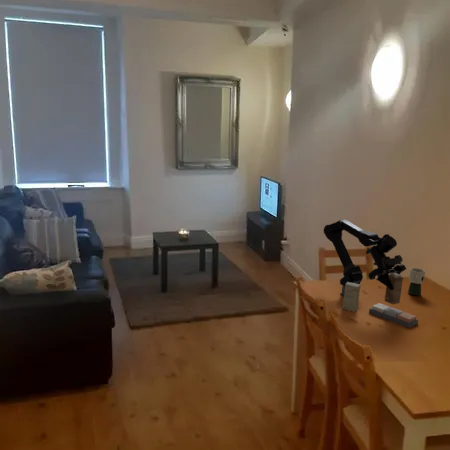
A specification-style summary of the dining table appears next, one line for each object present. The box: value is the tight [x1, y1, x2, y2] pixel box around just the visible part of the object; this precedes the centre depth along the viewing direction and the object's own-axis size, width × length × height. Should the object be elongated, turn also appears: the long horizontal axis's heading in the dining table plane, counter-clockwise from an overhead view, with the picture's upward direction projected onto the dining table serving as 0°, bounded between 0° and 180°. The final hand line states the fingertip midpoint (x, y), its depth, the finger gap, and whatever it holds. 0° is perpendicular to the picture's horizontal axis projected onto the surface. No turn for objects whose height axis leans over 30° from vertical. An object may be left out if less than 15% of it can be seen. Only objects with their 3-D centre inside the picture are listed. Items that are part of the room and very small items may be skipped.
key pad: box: [368, 302, 419, 329], centre depth 214 cm, size 20×7×4 cm, turn 41°
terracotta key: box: [397, 311, 417, 323], centre depth 210 cm, size 6×6×2 cm
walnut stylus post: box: [384, 273, 404, 305], centre depth 214 cm, size 4×4×13 cm
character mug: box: [407, 267, 426, 296], centre depth 245 cm, size 11×7×13 cm, turn 158°
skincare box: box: [341, 282, 361, 313], centre depth 221 cm, size 6×4×12 cm
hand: (396, 288), depth 213 cm, fingers closed on walnut stylus post, 4 cm apart
